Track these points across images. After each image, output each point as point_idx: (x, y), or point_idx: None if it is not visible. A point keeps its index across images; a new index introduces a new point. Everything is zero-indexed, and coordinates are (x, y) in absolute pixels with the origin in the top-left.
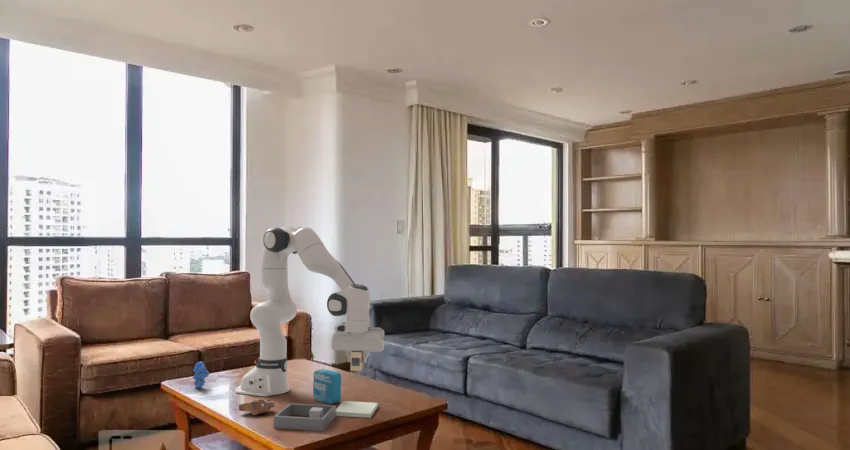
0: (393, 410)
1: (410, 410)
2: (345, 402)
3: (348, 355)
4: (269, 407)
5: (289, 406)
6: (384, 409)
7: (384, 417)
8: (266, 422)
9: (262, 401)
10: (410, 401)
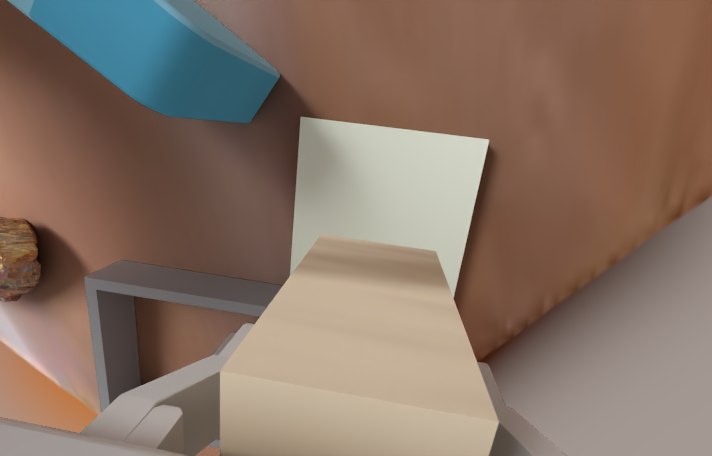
0: (563, 196)
1: (656, 192)
2: (315, 143)
3: (199, 451)
4: (28, 278)
5: (101, 306)
6: (517, 182)
7: (510, 295)
8: (89, 347)
9: None
10: (697, 11)
